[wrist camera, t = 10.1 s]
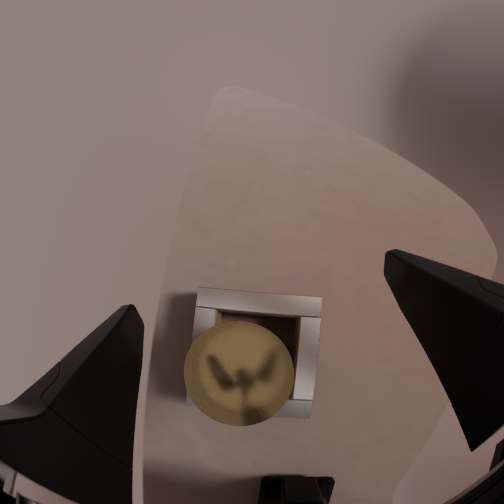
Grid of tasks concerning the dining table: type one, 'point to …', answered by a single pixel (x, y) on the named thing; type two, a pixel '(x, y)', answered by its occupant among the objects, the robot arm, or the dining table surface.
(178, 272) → the dining table surface
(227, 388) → the gold cylinder
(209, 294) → the shallow grey tray
